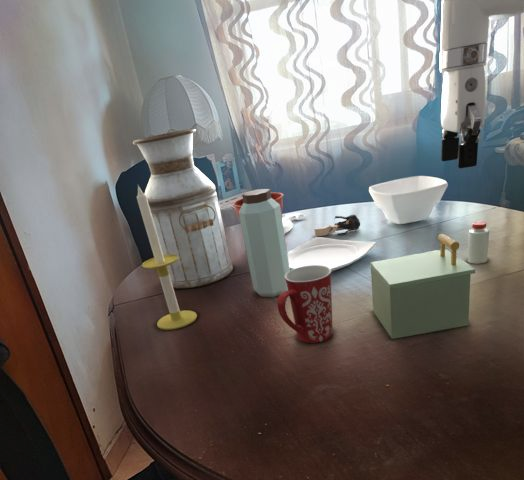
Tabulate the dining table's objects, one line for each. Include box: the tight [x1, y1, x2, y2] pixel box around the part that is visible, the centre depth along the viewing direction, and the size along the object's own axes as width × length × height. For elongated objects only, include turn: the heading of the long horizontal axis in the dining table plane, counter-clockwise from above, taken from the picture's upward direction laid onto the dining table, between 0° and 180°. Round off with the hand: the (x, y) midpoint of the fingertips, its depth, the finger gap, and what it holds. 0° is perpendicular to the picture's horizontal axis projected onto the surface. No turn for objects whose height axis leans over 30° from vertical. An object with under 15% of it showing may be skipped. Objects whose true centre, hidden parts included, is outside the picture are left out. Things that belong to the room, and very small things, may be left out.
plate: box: [287, 236, 378, 273], centre depth 133 cm, size 24×24×3 cm
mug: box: [277, 265, 334, 344], centre depth 91 cm, size 13×9×14 cm
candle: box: [136, 184, 198, 331], centre depth 106 cm, size 10×10×32 cm
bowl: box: [368, 175, 449, 225], centre depth 151 cm, size 22×22×12 cm
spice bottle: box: [467, 220, 490, 264], centre depth 112 cm, size 4×4×9 cm
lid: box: [370, 233, 476, 289], centre depth 87 cm, size 15×13×5 cm
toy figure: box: [313, 214, 361, 237], centre depth 153 cm, size 7×6×15 cm
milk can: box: [132, 128, 234, 289], centre depth 132 cm, size 24×21×40 cm
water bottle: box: [238, 188, 290, 298], centre depth 114 cm, size 10×10×25 cm
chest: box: [370, 266, 472, 340], centre depth 91 cm, size 15×13×10 cm
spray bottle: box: [282, 213, 305, 235], centre depth 173 cm, size 3×11×24 cm
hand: (457, 163), depth 89 cm, fingers open, 9 cm apart
